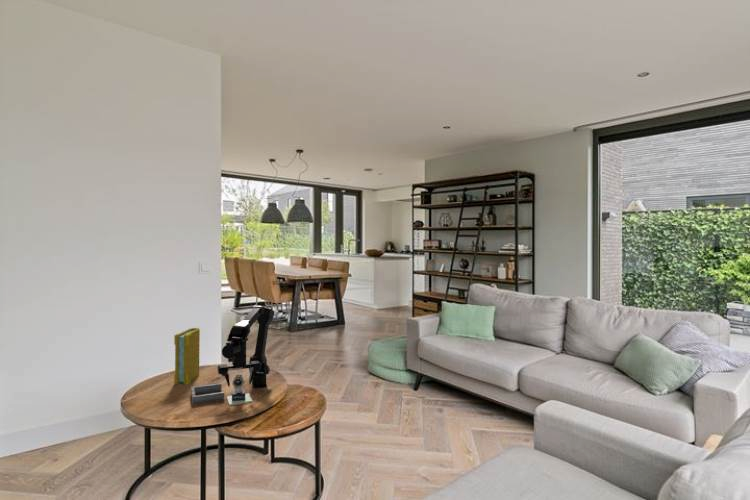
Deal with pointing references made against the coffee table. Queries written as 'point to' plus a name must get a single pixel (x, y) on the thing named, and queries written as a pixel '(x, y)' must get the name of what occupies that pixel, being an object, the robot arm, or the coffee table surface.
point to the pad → (247, 400)
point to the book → (186, 355)
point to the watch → (238, 388)
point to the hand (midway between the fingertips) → (239, 385)
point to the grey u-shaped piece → (206, 397)
